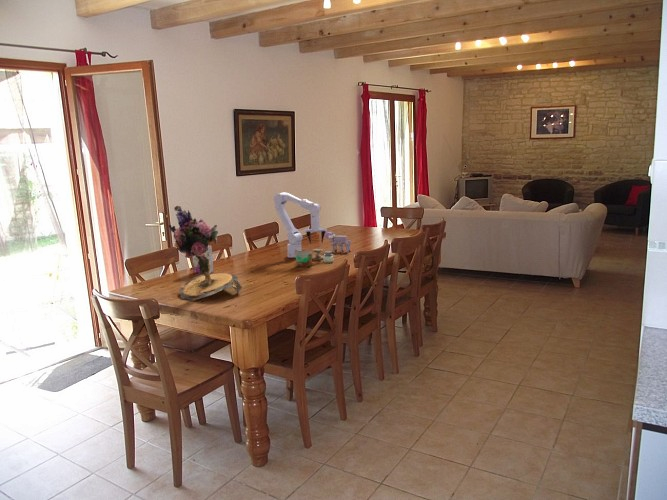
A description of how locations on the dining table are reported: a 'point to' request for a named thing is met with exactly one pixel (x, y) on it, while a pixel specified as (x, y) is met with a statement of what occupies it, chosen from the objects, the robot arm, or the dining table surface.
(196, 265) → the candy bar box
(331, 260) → the pale green flanged block
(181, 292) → the bouquet
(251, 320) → the dining table surface
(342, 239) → the toy sheep
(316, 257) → the tan rounded lump
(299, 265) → the food container
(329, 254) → the gray metal block
